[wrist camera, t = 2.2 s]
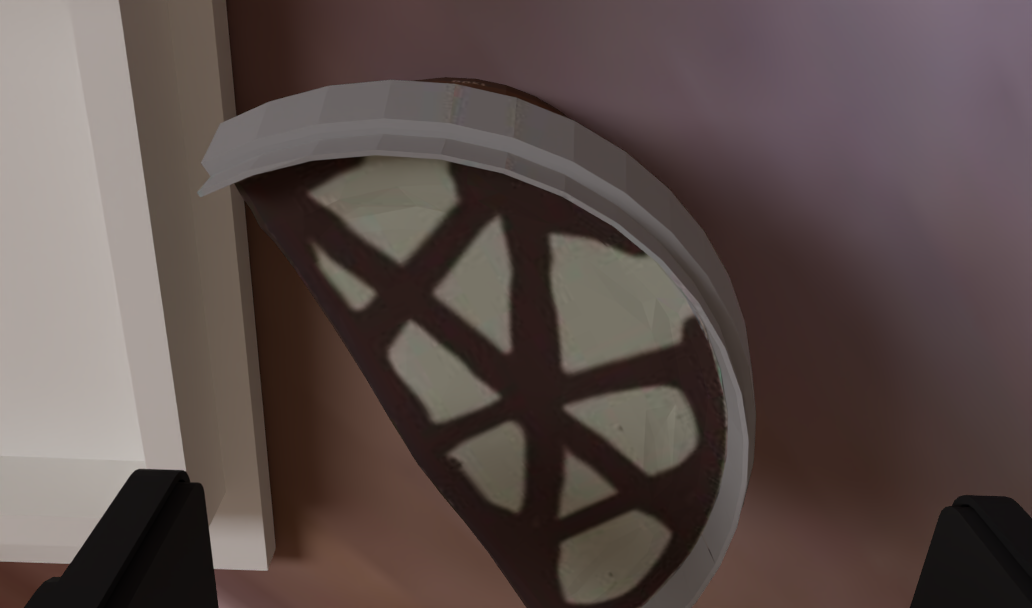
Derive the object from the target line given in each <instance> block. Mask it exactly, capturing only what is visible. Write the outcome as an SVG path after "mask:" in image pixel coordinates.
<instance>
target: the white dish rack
mask: <svg viewBox="0 0 1032 608" xmlns="http://www.w3.org/2000/svg"><path fill="white" fill-rule="evenodd" d="M234 117H236V106H235V95H234V84H233V73H232V62H231V51H230V40H229V29H228V18H227V8H226V0H0V561H5V562H33V563H62V564H70V563H71V562H72V560H73V559H74V557H75V556H76V554H77V553H78V551H79V550H80V549H81V547H82V546H83V544H84V543H85V541H86V540H87V538H88V537H89V535H90V534H91V532H92V531H93V529H94V528H95V526H96V525H97V524H98V522H99V521H100V519H101V518H102V516H103V515H104V513H105V512H106V510H107V509H108V507H109V506H110V504H111V503H112V501H113V500H114V499H115V497H116V496H117V494H118V493H119V491H120V490H121V488H122V487H123V485H124V484H125V482H126V481H127V479H128V478H129V476H130V475H131V474H132V473H133V472H134V471H135V470H137V469H164V470H184V471H186V472H187V474H188V476H189V478H190V482H198V483H201V484H202V486H203V488H204V493H205V501H206V509H207V517H208V525H209V534H210V542H211V550H212V558H213V567H214V569H234V570H263V571H268V569H269V566H270V563H271V560H272V558H273V555H274V552H275V549H276V545H275V534H274V523H273V512H272V501H271V490H270V479H269V468H268V457H267V446H266V435H265V424H264V413H263V402H262V391H261V380H260V369H259V358H258V347H257V336H256V325H255V314H254V304H253V293H252V282H251V271H250V260H249V249H248V238H247V227H246V216H245V205H244V199H243V198H242V196H241V195H240V193H239V191H238V189H237V188H236V186H235V184H234V183H233V184H231V185H229V186H226V187H224V188H222V189H219V190H217V191H214V192H212V193H210V194H207V195H205V196H203V197H200V196H199V195H198V194H197V192H198V191H199V189H200V188H201V187H202V186H203V185H204V184H205V182H206V181H207V180H208V179H209V178H210V177H211V176H210V175H209V173H208V172H207V171H206V169H205V168H204V167H203V165H202V164H201V162H202V160H203V158H204V156H205V154H206V152H207V150H208V148H209V146H210V143H211V141H212V139H213V137H214V135H215V133H216V131H217V129H218V127H219V125H220V123H223V122H225V121H227V120H229V119H231V118H234Z"/></svg>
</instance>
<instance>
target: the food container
mask: <svg viewBox="0 0 1032 608" xmlns="http://www.w3.org/2000/svg"><path fill="white" fill-rule="evenodd" d="M201 164H202V165H203V167H204V168H205V169H206V171H207V172H208V173H209V175H210V176H211V177H210V178H209V179H208V180H207V181H206V182H205V184H204V185H203V186H202V187H201V188H200V189H199V191H198V192H197V194H198V195H199V196H200V197H203V196H205V195H207V194H210V193H212V192H214V191H217V190H219V189H222V188H224V187H226V186H229V185H231V184H233V183H234V184H235V186H236V188H237V189H238V191H239V193H240V195H241V196H242V198H243V199H244V200H245V202H246V203H247V204H248V206H249V207H250V209H251V211H252V213H253V215H254V216H255V218H256V220H257V222H258V224H259V226H260V227H261V228H262V229H263V231H264V232H265V233H266V234H267V235H268V236H269V237H270V238H271V239H272V240H273V241H274V242H275V243H276V245H277V246H278V247H279V249H280V250H281V251H282V253H283V254H284V255H285V257H286V258H287V259H288V261H289V262H290V263H291V265H292V266H293V267H294V269H295V270H296V272H297V273H298V275H299V276H300V278H301V279H302V281H303V282H304V284H305V285H306V287H307V288H308V290H309V291H310V293H311V294H312V296H313V297H314V299H315V300H316V301H317V303H318V304H319V306H320V307H321V309H322V310H323V312H324V313H325V315H326V316H327V318H328V319H329V321H330V322H331V324H332V325H333V327H334V329H335V330H336V332H337V333H338V335H339V336H340V338H341V340H342V341H343V343H344V344H345V346H346V347H347V349H348V351H349V352H350V354H351V355H352V357H353V358H354V360H355V362H356V363H357V365H358V366H359V368H360V370H361V371H362V373H363V374H364V376H365V377H366V379H367V381H368V383H369V384H370V386H371V388H372V389H373V391H374V393H375V395H376V396H377V398H378V400H379V401H380V403H381V405H382V406H383V408H384V410H385V412H386V413H387V415H388V417H389V418H390V420H391V422H392V423H393V425H394V426H395V428H396V430H397V431H398V433H399V434H400V436H401V438H402V439H403V441H404V442H405V444H406V446H407V447H408V449H409V451H410V452H411V454H412V456H413V457H414V459H415V460H416V462H417V463H418V465H419V466H420V467H421V469H422V470H423V471H424V473H425V474H426V475H427V476H428V478H429V479H430V480H431V481H432V483H433V484H434V485H435V487H436V488H437V489H438V490H439V492H440V493H441V494H442V496H443V497H444V498H445V499H446V500H447V502H448V503H449V504H450V505H451V506H452V507H453V509H454V510H455V511H456V512H457V513H458V515H459V516H460V517H461V518H462V519H463V521H464V522H465V523H466V524H467V526H468V527H469V528H470V530H471V531H472V532H473V533H474V535H475V536H476V537H477V539H478V540H479V541H480V542H481V544H482V545H483V546H484V548H485V549H486V550H487V551H488V553H489V554H490V555H491V557H492V558H493V560H494V561H495V563H496V564H497V566H498V567H499V568H500V570H501V571H502V573H503V574H504V576H505V577H506V579H507V580H508V581H509V583H510V584H511V586H512V587H513V589H514V590H515V592H516V593H517V594H518V596H519V597H520V599H521V600H522V602H523V603H524V605H525V606H526V607H527V608H691V607H692V606H693V605H694V604H695V603H696V602H697V600H698V598H699V597H700V595H701V594H702V592H703V591H704V589H705V588H706V586H707V585H708V583H709V582H710V580H711V579H712V577H713V576H714V574H715V573H716V571H717V570H718V568H719V567H720V565H721V562H722V560H723V558H724V556H725V553H726V551H727V549H728V546H729V544H730V542H731V540H732V537H733V535H734V533H735V530H736V528H737V525H738V521H739V516H740V512H741V509H742V506H743V504H744V500H745V495H746V491H747V487H748V483H749V479H750V475H751V471H752V467H753V462H754V448H755V428H756V409H755V398H754V387H753V376H752V367H751V360H750V353H749V346H748V339H747V332H746V325H745V321H744V318H743V315H742V312H741V309H740V306H739V303H738V300H737V297H736V295H735V292H734V289H733V286H732V283H731V280H730V277H729V275H728V273H727V271H726V270H725V268H724V266H723V264H722V262H721V261H720V259H719V257H718V255H717V254H716V252H715V250H714V248H713V246H712V245H711V243H710V241H709V239H708V238H707V236H706V234H705V232H704V231H703V229H702V228H701V227H700V226H699V225H698V223H697V222H696V221H695V220H694V219H693V217H692V216H691V215H690V214H689V212H688V211H687V210H686V209H685V208H684V206H683V205H682V204H681V203H680V202H679V200H678V199H677V198H676V197H675V196H674V194H673V193H672V192H671V191H670V189H669V188H667V187H666V186H665V185H664V184H663V183H662V182H660V181H659V180H658V179H657V178H656V177H655V176H653V175H652V174H651V173H650V172H649V171H648V170H646V169H645V168H644V167H643V166H642V165H641V164H639V163H638V162H637V161H636V160H635V159H634V158H632V157H631V156H630V155H629V154H628V153H627V152H625V151H624V150H622V149H620V148H619V147H617V146H615V145H614V144H612V143H610V142H609V141H607V140H605V139H604V138H602V137H600V136H599V135H597V134H595V133H594V132H592V131H590V130H589V129H587V128H585V127H584V126H582V125H580V124H579V123H577V122H575V121H573V120H571V119H568V118H567V117H566V116H565V115H564V114H562V113H561V112H560V111H559V110H557V109H555V108H554V107H552V106H550V105H548V104H547V103H545V102H543V101H542V100H540V99H538V98H536V97H535V96H533V95H530V94H527V93H525V92H522V91H520V90H517V89H514V88H512V87H509V86H507V85H502V84H498V83H493V82H488V81H483V80H479V79H467V78H448V77H444V78H435V79H425V80H416V81H402V80H385V81H374V82H364V83H353V84H342V85H332V86H326V87H322V88H319V89H315V90H311V91H307V92H304V93H300V94H296V95H292V96H288V97H285V98H281V99H277V100H273V101H269V102H267V103H265V104H263V105H260V106H258V107H256V108H254V109H251V110H249V111H247V112H245V113H243V114H240V115H238V116H236V117H234V118H231V119H229V120H227V121H225V122H223V123H220V125H219V127H218V129H217V131H216V133H215V135H214V137H213V139H212V141H211V143H210V146H209V148H208V150H207V152H206V154H205V156H204V158H203V160H202V162H201Z"/></svg>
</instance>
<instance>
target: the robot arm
mask: <svg viewBox="0 0 1032 608" xmlns="http://www.w3.org/2000/svg"><path fill="white" fill-rule="evenodd" d="M24 608H218V600H217V591H216V583H215V575H214V567H213V558H212V550H211V542H210V534H209V525H208V517H207V509H206V501H205V493H204V488H203V486H202V484H201V483H198V482H190V478H189V476H188V474H187V472H186V471H184V470H164V469H137V470H135V471H134V472H133V473H132V474H131V475H130V476H129V478H128V479H127V481H126V482H125V484H124V485H123V487H122V488H121V490H120V491H119V493H118V494H117V496H116V497H115V499H114V500H113V501H112V503H111V504H110V506H109V507H108V509H107V510H106V512H105V513H104V515H103V516H102V518H101V519H100V521H99V522H98V524H97V525H96V526H95V528H94V529H93V531H92V532H91V534H90V535H89V537H88V538H87V540H86V541H85V543H84V544H83V546H82V547H81V549H80V550H79V551H78V553H77V554H76V556H75V557H74V559H73V560H72V562H71V563H70V565H69V566H68V568H67V569H66V571H65V572H64V574H63V575H62V576H61V577H52V578H51V579H49V580H47V581H45V582H44V583H43V584H42V585H41V586H40V587H39V588H38V589H37V591H36V592H35V593H34V594H33V596H32V597H31V599H30V600H29V601H28V603H27V604H26V606H25V607H24ZM910 608H1032V518H1031V517H1030V516H1029V515H1028V514H1027V513H1026V512H1025V511H1024V509H1023V508H1022V507H1021V506H1020V505H1019V504H1018V503H1017V502H1016V501H1014V500H1013V499H1012V498H1009V497H1005V496H973V495H964V496H960V497H958V498H957V499H956V500H955V501H954V503H953V505H952V506H948V507H945V508H944V509H943V510H942V511H941V514H940V516H939V519H938V522H937V525H936V528H935V531H934V534H933V537H932V540H931V544H930V547H929V550H928V553H927V556H926V559H925V562H924V566H923V569H922V572H921V575H920V578H919V581H918V584H917V587H916V591H915V594H914V597H913V600H912V603H911V606H910Z"/></svg>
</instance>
